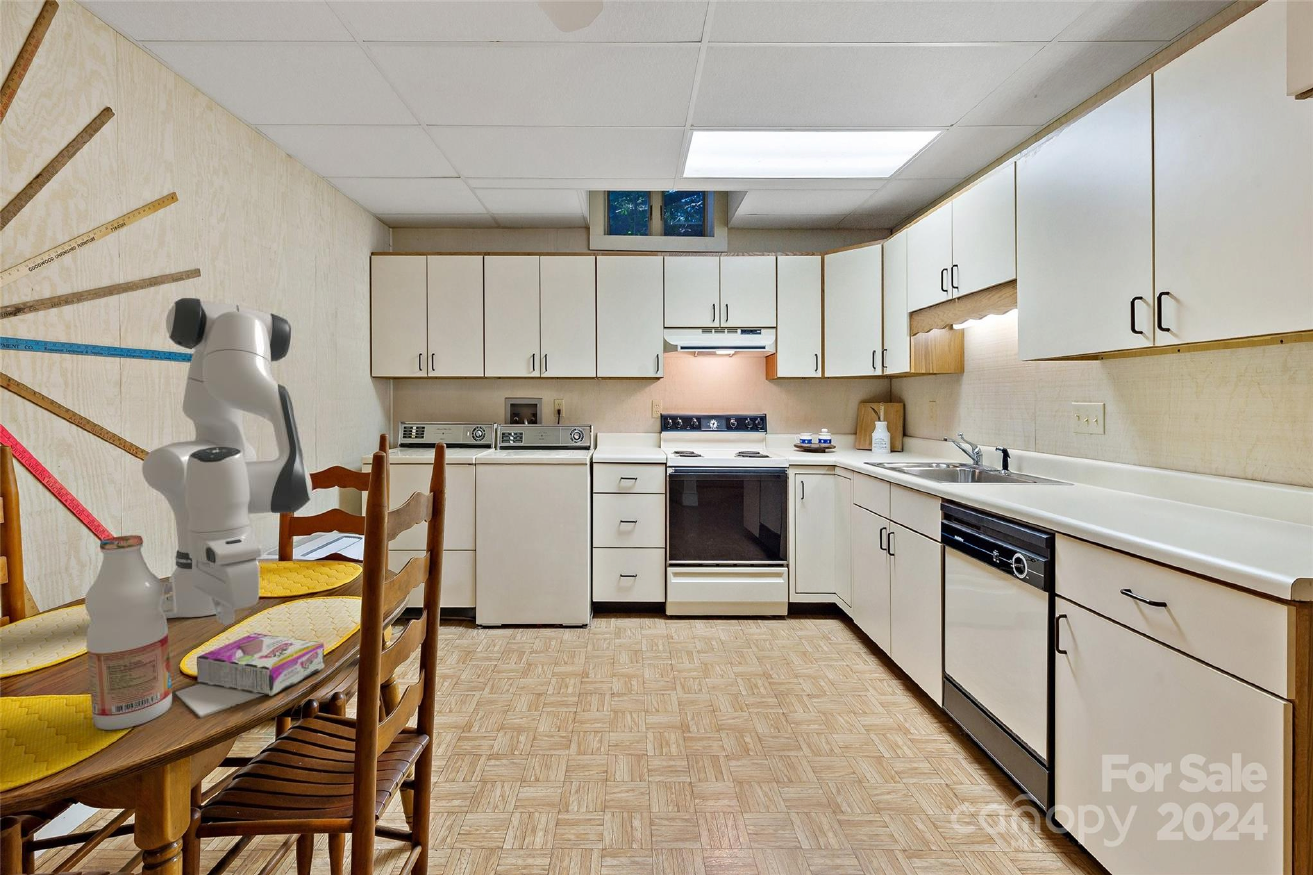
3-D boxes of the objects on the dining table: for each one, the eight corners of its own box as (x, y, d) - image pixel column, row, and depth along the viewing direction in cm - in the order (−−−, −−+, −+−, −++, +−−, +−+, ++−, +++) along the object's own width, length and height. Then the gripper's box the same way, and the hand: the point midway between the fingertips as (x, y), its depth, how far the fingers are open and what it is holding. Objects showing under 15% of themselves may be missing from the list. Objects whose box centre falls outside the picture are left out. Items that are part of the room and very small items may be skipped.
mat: (175, 693, 101) (175, 691, 101) (269, 663, 112) (269, 661, 112) (200, 717, 94) (200, 715, 94) (297, 682, 105) (297, 680, 105)
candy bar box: (254, 630, 114) (325, 641, 109) (255, 656, 114) (326, 668, 110) (194, 655, 103) (270, 668, 99) (195, 683, 103) (271, 698, 99)
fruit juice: (75, 728, 91) (60, 545, 88) (139, 697, 100) (127, 530, 98) (128, 734, 89) (114, 548, 87) (188, 702, 98) (177, 532, 96)
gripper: (178, 537, 107) (183, 613, 108) (220, 557, 95) (225, 642, 96) (220, 531, 112) (225, 603, 113) (265, 548, 100) (270, 630, 101)
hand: (225, 622), depth 104 cm, fingers closed
